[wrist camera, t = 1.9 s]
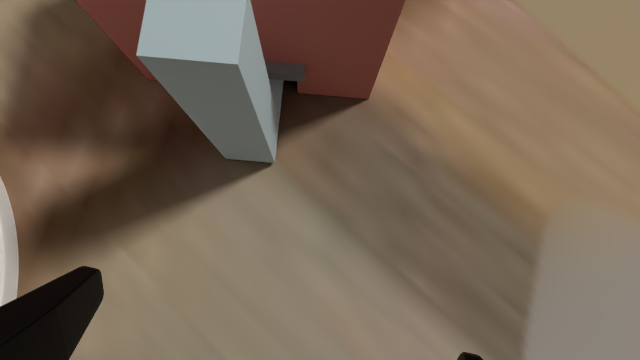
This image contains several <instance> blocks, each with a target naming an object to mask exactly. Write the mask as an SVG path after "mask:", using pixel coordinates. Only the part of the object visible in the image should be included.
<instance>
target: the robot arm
mask: <svg viewBox="0 0 640 360" xmlns="http://www.w3.org/2000/svg"><path fill="white" fill-rule="evenodd" d="M103 295H104V290H103V283H102V275H101V272H100V270H99V269H96V268H91V267H87V266H82V267H79V268H77V269H75V270H73V271H71V272H69V273H67V274H65V275H63V276H61V277H59V278H57V279H55V280H53V281H51V282H49V283H47V284H45V285H43V286H41V287H38V288H36V289H34V290H32V291H30V292H28V293H26V294H24V295H22V296H20V297H18V298H16V299H14V300H12V301H10V302H8V303H6V304H4V305H2V306H0V360H69V358H70V357H71V355H72V353H73V352H74V350H75V348H76V346H77V344H78V343H79V341H80V339H81V337H82V336H83V334H84V332H85V330H86V328H87V327H88V325H89V323H90V321H91V320H92V318H93V316H94V314H95V313H96V311H97V309H98V307H99V305H100V304H101V302H102V299H103ZM457 360H483V359H482V358H481V357H480V356H479V355H476V354H471V353H467V352H463V353H461V354H460V355H459V357H458V359H457Z"/></svg>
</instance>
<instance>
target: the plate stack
mask: <svg viewBox="0 0 640 360" xmlns="http://www.w3.org/2000/svg"><path fill="white" fill-rule="evenodd" d="M18 269H19V260H18V242H17V233H16V227H15V221H14V216H13V212H12V208H11V204H10V201H9V197H8V194H7V192H6V189H5V186H4V184H3V181H2V179H1V177H0V306H2V305H4V304H6V303H8V302H10V301H12V300H14V299H16V296H17V287H18Z"/></svg>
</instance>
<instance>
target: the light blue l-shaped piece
mask: <svg viewBox="0 0 640 360" xmlns="http://www.w3.org/2000/svg"><path fill="white" fill-rule="evenodd" d="M136 56H137V57H138V58H139V59H140V61H141V62H142V63H143V64H144V65H145V66H146V67H147V69H148V70H149V71H150V72H151V73H152V74H153V76H154V77H155V78H156V79H157V80H158V81H159V82H160V84H161V85H162V86H163V87H164V88H165V89H166V91H167V92H168V93H169V94H170V95H171V96H172V97H173V99H174V100H175V101H176V102H177V103H178V104H179V106H180V107H181V108H182V109H183V110H184V111H185V112H186V114H187V115H188V116H189V117H190V118H191V119H192V121H193V122H194V123H195V124H196V125H197V126H198V127H199V129H200V130H201V131H202V132H203V133H204V134H205V136H206V137H207V138H208V139H209V140H210V141H211V142H212V144H213V145H214V146H215V147H216V148H217V149H218V151H219V152H220V153H221V154H222V155H223V156H224V157H225V159H235V160H247V161H258V162H270V163H275V157H276V148H277V139H278V129H279V120H280V111H281V101H282V92H283V83H284V80H277V79H269V78H268V74H267V70H266V65H265V61H264V57H263V53H262V48H261V44H260V40H259V35H258V31H257V27H256V23H255V18H254V14H253V10H252V5H251V1H250V0H146V5H145V11H144V16H143V21H142V27H141V32H140V37H139V43H138V48H137V53H136Z"/></svg>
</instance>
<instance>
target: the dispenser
mask: <svg viewBox="0 0 640 360" xmlns="http://www.w3.org/2000/svg"><path fill="white" fill-rule="evenodd" d="M75 1H76V2H77V3H78V4H79V5H80V6H81V7H82V8H83V9H84V10H85V11H86V13H87V14H88V15H89V16H90V17H91V18H92V19H93V20H94V21H95V22H96V23H97V25H98V26H99V27H100V28H101V29H102V30H103V31H104V32H105V33H106V34H107V35H108V37H109V38H110V39H111V40H112V41H113V42H114V43H115V44H116V45H117V46H118V47H119V49H120V50H121V51H122V52H123V53H124V54H125V55H126V56H127V57H128V58H129V59H130V60H131V62H132V63H133V64H134V65H135V66H136V67H137V68H138V69H139V70H140V71H141V72H142V74H143V75H144V76H145V77H146V78H147V79H148V80H156V81H158V80H157V79H156V78H155V77H154V76H153V74H152V73H151V72H150V71H149V70H148V69H147V67H146V66H145V65H144V64H143V63H142V62H141V61H140V59H139V58H138V57H137V56H136V53H137V48H138V43H139V37H140V32H141V27H142V21H143V16H144V11H145V5H146V0H75ZM250 1H251V5H252V10H253V14H254V18H255V23H256V27H257V31H258V35H259V40H260V44H261V48H262V53H263V57H264V61H265V65H266V70H267V74H268V78H269V79H277V80H288V81H297V88H298V93H304V94H315V95H327V96H338V97H350V98H361V99H369V96H370V93H371V91H372V88H373V85H374V83H375V80H376V77H377V75H378V72H379V69H380V67H381V64H382V61H383V59H384V56H385V53H386V51H387V48H388V45H389V42H390V40H391V37H392V34H393V32H394V29H395V26H396V24H397V21H398V18H399V16H400V13H401V10H402V8H403V5H404V2H405V0H250Z"/></svg>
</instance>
